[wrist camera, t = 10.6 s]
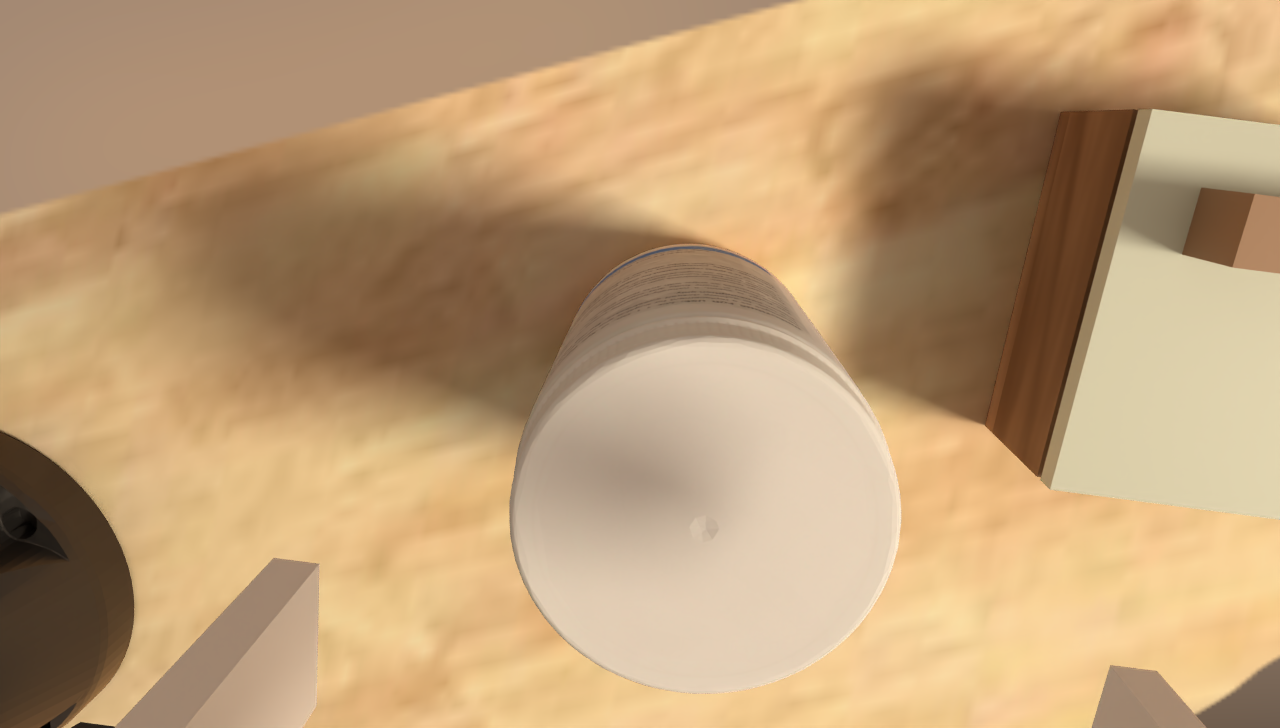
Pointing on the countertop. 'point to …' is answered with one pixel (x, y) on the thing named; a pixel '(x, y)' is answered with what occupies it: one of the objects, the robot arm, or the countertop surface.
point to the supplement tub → (701, 480)
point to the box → (1058, 279)
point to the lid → (1182, 327)
